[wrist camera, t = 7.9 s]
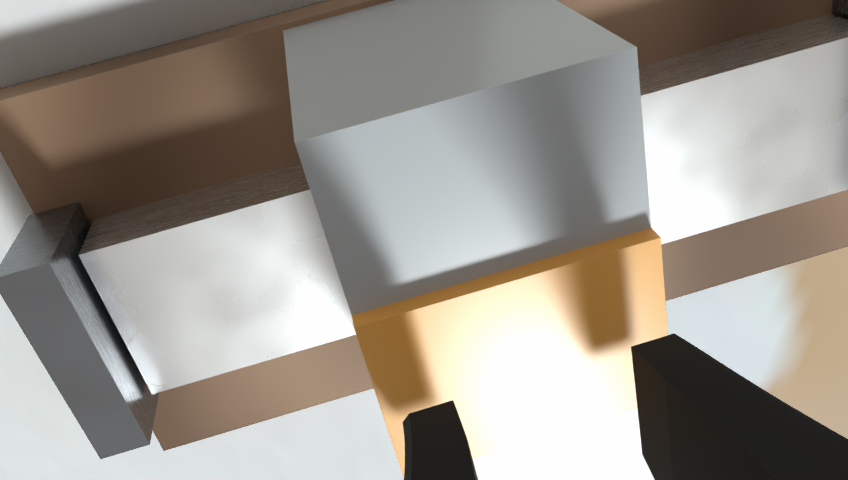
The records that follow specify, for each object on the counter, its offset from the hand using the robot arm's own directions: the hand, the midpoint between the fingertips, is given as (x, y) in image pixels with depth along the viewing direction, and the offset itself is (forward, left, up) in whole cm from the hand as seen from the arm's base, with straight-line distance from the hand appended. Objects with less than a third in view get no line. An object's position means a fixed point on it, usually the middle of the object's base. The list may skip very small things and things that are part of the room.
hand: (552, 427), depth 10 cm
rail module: (0, 0, -7) cm, 7 cm away
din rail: (-1, 0, -7) cm, 7 cm away
